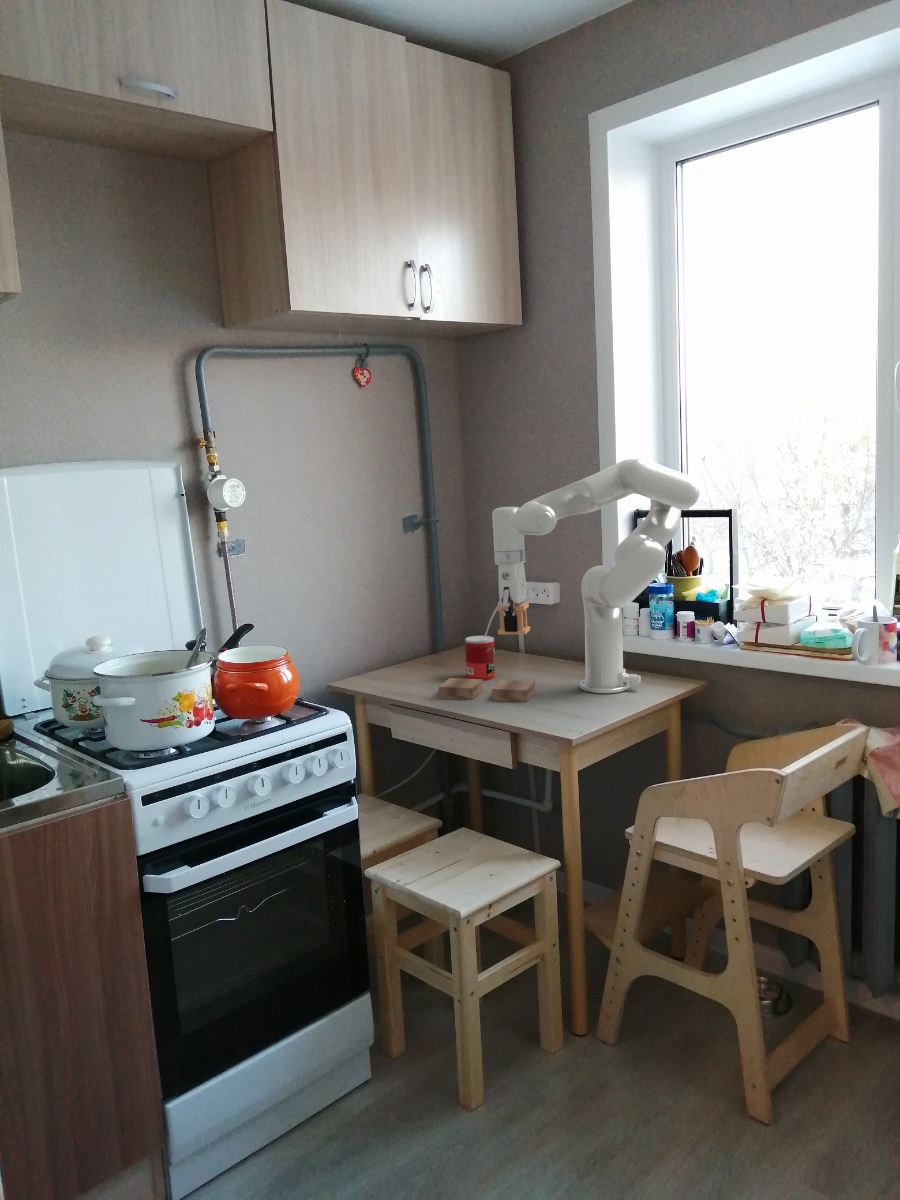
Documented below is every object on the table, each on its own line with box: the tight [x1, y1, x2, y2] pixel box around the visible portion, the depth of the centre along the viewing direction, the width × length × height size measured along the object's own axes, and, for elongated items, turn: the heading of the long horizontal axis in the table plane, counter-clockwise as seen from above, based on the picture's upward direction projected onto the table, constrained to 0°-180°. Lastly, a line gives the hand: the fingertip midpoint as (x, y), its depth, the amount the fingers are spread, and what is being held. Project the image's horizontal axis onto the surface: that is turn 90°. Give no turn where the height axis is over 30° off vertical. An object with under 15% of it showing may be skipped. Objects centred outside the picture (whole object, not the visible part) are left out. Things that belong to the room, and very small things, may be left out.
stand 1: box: [438, 677, 484, 701], centre depth 244 cm, size 9×9×3 cm
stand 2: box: [491, 679, 536, 703], centre depth 240 cm, size 9×9×3 cm
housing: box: [496, 602, 531, 635], centre depth 237 cm, size 7×5×7 cm
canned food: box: [464, 635, 496, 681], centre depth 260 cm, size 8×8×11 cm
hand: (514, 628), depth 237 cm, fingers closed on housing, 5 cm apart
